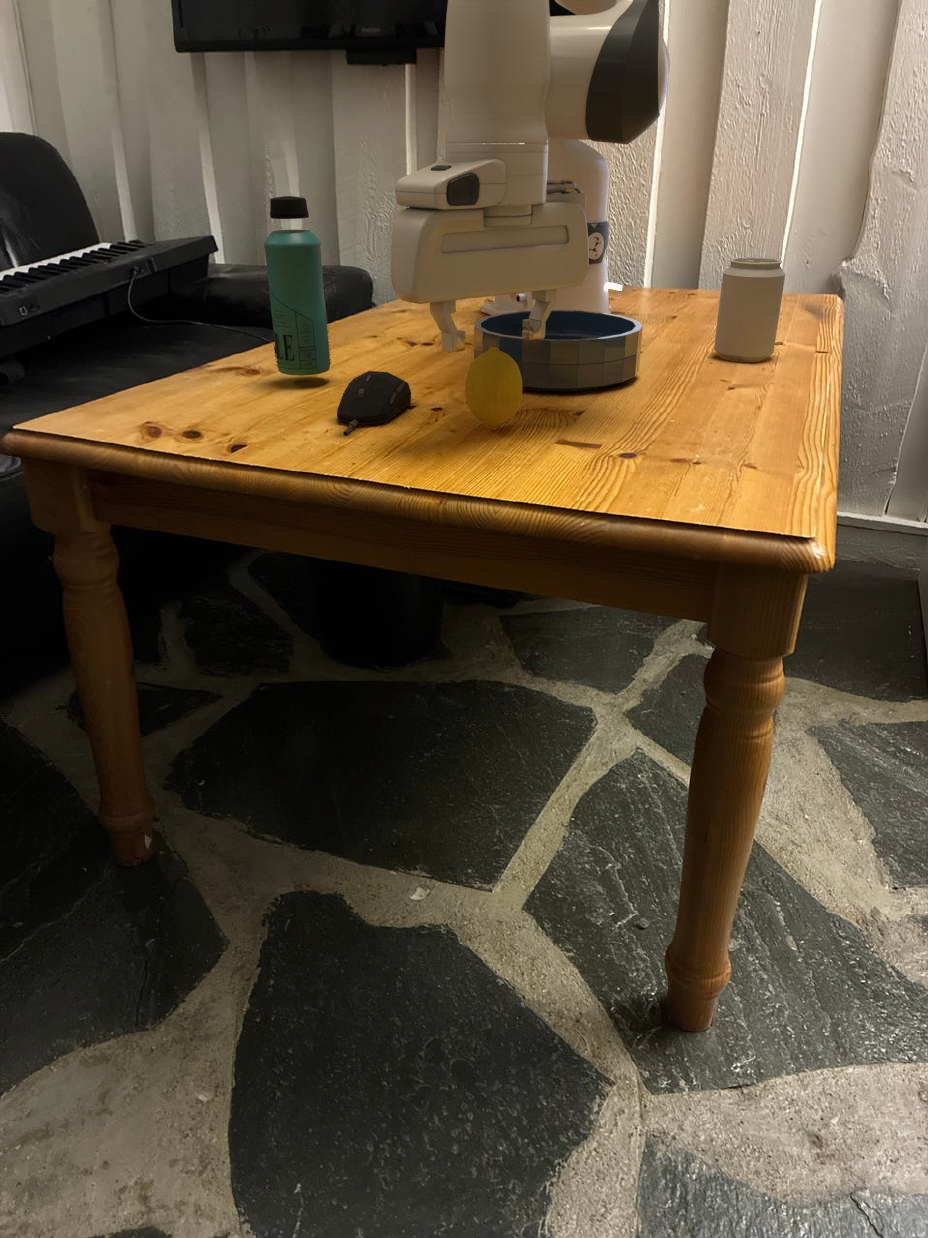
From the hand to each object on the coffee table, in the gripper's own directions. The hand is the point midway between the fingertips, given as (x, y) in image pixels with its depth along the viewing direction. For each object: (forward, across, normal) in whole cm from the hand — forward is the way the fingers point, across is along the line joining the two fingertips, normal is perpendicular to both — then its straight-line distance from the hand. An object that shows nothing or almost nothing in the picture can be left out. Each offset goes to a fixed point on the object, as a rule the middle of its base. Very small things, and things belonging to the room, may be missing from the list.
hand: (494, 344), depth 85 cm
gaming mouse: (+8, +7, -12) cm, 16 cm away
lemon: (+8, 0, 0) cm, 8 cm away
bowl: (+8, -20, -14) cm, 26 cm away
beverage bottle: (+8, +6, -29) cm, 31 cm away
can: (+8, -46, -7) cm, 47 cm away
